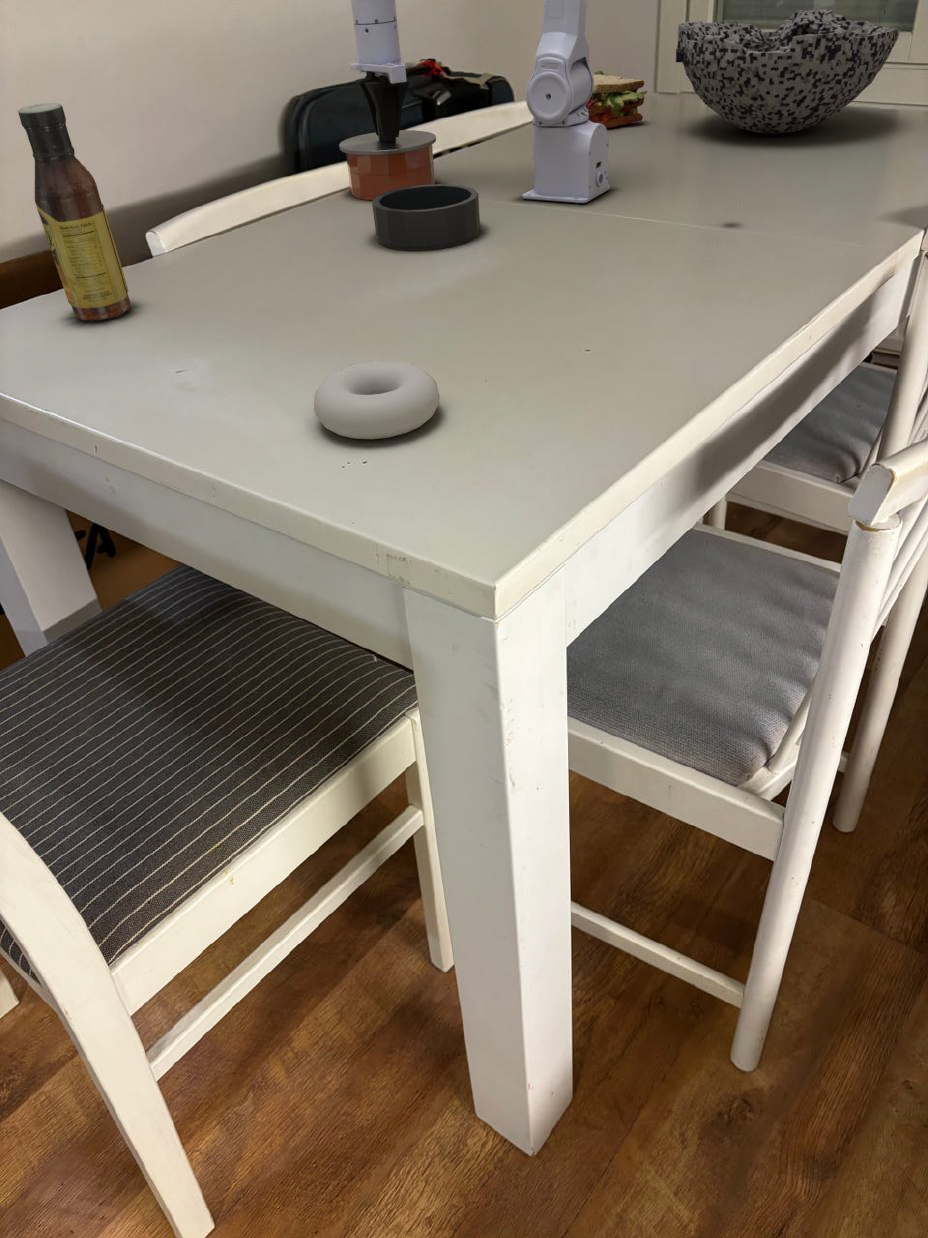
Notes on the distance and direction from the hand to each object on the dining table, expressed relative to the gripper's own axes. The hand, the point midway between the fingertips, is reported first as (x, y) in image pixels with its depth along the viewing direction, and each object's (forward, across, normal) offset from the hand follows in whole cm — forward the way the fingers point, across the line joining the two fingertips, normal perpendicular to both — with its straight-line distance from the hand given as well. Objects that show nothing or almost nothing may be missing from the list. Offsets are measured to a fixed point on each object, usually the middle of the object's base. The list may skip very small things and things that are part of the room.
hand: (387, 135), depth 133 cm
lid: (+1, 0, 0) cm, 1 cm away
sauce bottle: (+7, +31, -44) cm, 54 cm away
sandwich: (+3, -19, +43) cm, 48 cm away
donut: (+7, +71, -27) cm, 77 cm away
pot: (+7, 0, 0) cm, 7 cm away
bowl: (+7, +5, +63) cm, 64 cm away
